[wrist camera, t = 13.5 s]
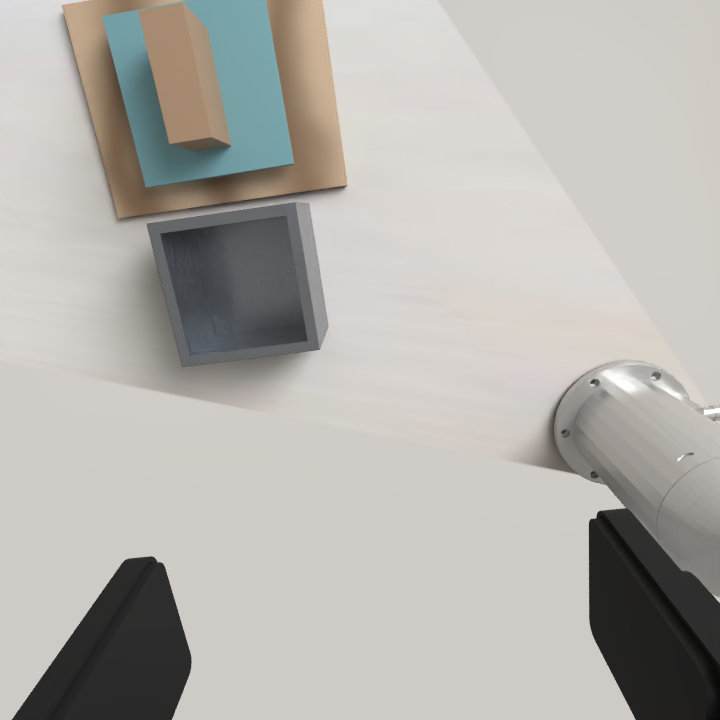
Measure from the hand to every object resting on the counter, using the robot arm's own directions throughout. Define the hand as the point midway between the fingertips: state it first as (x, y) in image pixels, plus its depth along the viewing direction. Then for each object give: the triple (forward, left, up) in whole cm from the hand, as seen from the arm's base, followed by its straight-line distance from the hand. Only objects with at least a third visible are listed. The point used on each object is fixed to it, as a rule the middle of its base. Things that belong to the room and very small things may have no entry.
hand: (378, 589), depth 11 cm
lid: (+11, -18, -36) cm, 41 cm away
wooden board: (+11, -18, -36) cm, 42 cm away
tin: (+10, -4, -36) cm, 38 cm away
